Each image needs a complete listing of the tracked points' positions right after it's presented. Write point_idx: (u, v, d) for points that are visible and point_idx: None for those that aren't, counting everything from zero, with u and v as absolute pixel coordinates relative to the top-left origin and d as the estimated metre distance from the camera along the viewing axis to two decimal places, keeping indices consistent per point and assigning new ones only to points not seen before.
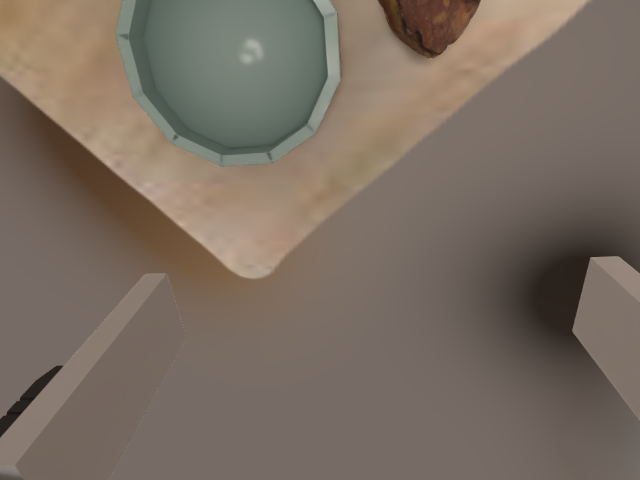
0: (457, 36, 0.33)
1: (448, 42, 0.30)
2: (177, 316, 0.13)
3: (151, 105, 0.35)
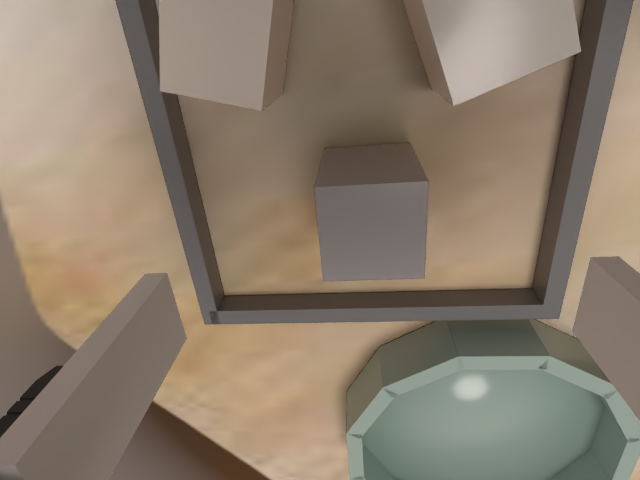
0: None
1: None
2: (177, 316, 0.13)
3: None
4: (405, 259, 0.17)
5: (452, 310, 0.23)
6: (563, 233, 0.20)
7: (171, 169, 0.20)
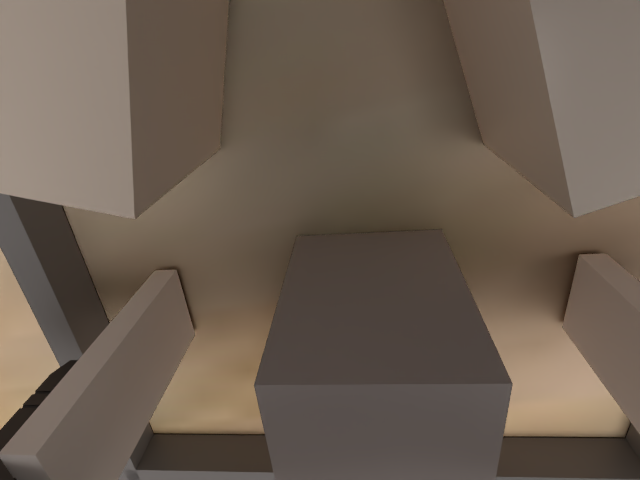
0: None
1: None
2: (186, 312, 0.14)
3: None
4: None
5: None
6: None
7: (30, 276, 0.12)
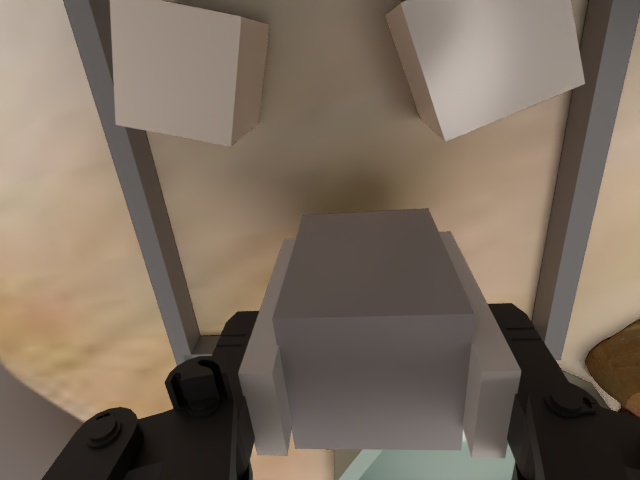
0: None
1: None
2: None
3: None
4: (429, 424, 0.10)
5: None
6: (564, 271, 0.19)
7: (137, 204, 0.19)
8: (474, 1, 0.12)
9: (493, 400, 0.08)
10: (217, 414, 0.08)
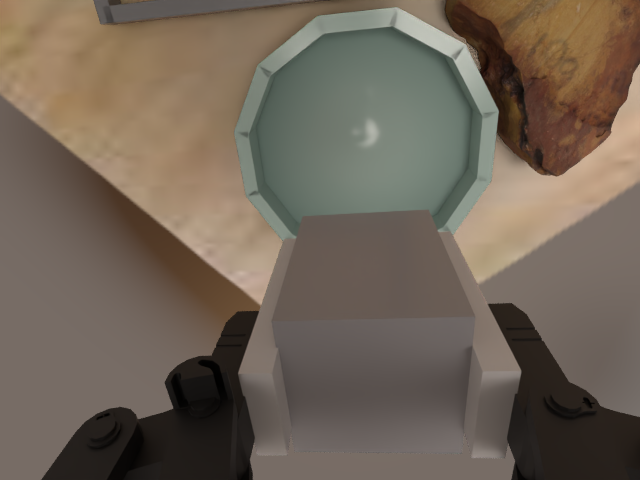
0: None
1: (570, 166, 0.26)
2: None
3: (266, 204, 0.31)
4: (430, 427, 0.10)
5: None
6: None
7: None
8: None
9: (493, 400, 0.08)
10: (217, 414, 0.08)
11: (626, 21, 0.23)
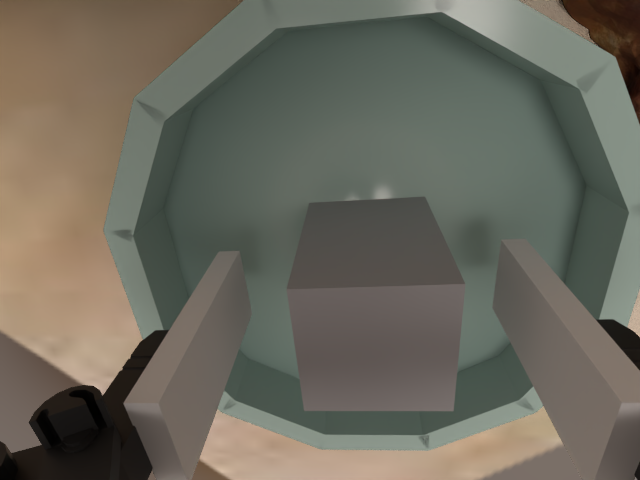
0: None
1: None
2: (246, 292, 0.14)
3: None
4: (425, 386, 0.11)
5: None
6: None
7: None
8: None
9: (627, 433, 0.07)
10: (95, 445, 0.07)
11: None
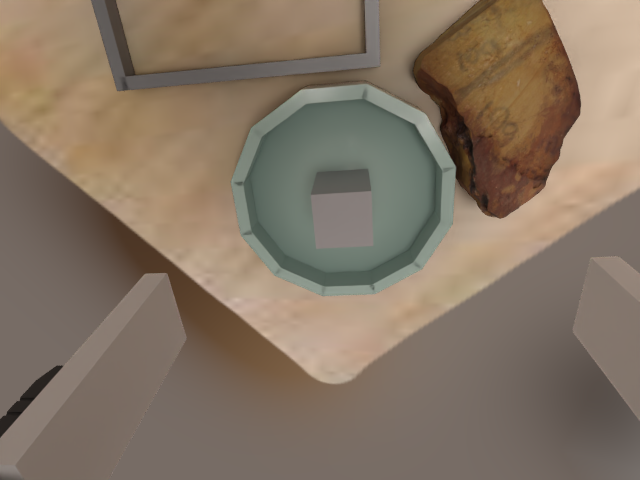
0: None
1: (511, 211, 0.31)
2: (177, 316, 0.13)
3: (258, 242, 0.35)
4: (361, 234, 0.30)
5: (301, 63, 0.30)
6: None
7: None
8: None
9: None
10: None
11: (557, 96, 0.28)
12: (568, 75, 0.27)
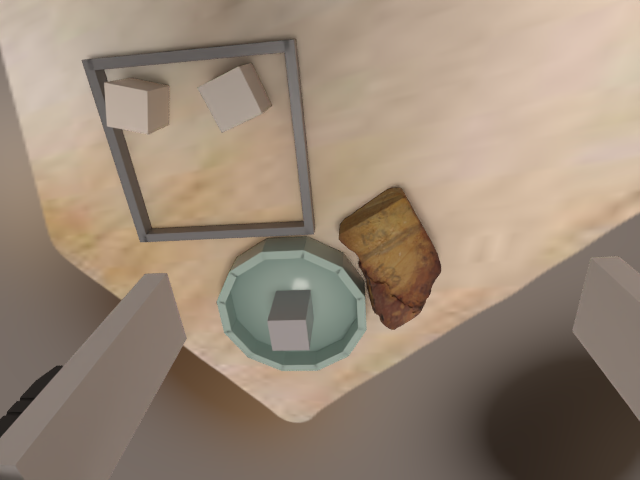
0: None
1: (399, 325, 0.47)
2: (177, 316, 0.13)
3: (236, 337, 0.51)
4: (301, 343, 0.46)
5: (262, 231, 0.46)
6: (302, 189, 0.43)
7: (118, 159, 0.43)
8: (220, 87, 0.36)
9: None
10: None
11: (425, 262, 0.44)
12: (432, 251, 0.43)
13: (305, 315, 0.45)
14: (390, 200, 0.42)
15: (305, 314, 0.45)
